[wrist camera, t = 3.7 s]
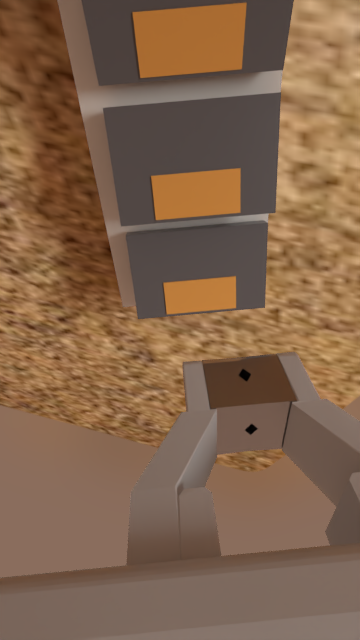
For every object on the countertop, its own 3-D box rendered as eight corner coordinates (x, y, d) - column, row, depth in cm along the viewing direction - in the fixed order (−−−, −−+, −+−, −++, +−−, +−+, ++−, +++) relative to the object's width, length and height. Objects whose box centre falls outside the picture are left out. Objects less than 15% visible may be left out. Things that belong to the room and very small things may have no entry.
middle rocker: (105, 110, 18) (102, 107, 17) (275, 95, 18) (281, 92, 17) (122, 223, 21) (120, 226, 20) (270, 210, 21) (275, 212, 20)
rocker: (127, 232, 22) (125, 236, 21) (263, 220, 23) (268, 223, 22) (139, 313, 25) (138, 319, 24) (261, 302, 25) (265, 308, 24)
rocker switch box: (56, -78, 17) (33, -109, 14) (274, -97, 17) (302, -131, 14) (126, 280, 30) (123, 306, 27) (249, 269, 30) (260, 294, 27)
